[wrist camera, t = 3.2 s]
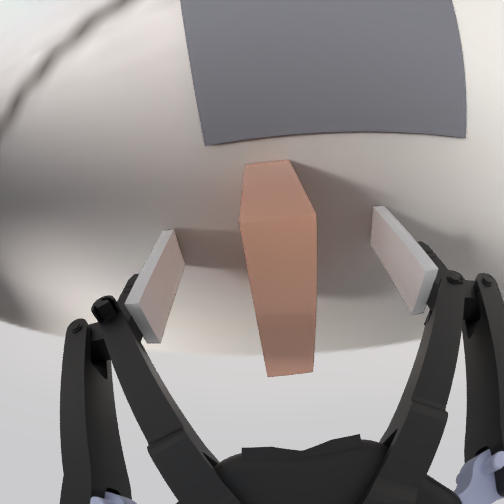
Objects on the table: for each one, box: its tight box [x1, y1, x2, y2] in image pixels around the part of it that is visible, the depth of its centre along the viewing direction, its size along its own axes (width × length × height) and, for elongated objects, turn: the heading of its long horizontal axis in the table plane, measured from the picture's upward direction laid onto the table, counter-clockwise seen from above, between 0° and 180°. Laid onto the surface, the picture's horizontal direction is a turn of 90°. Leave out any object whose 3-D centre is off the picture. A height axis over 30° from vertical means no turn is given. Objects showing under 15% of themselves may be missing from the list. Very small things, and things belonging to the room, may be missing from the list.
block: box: [239, 160, 317, 377], centre depth 14 cm, size 2×9×7 cm, turn 8°
